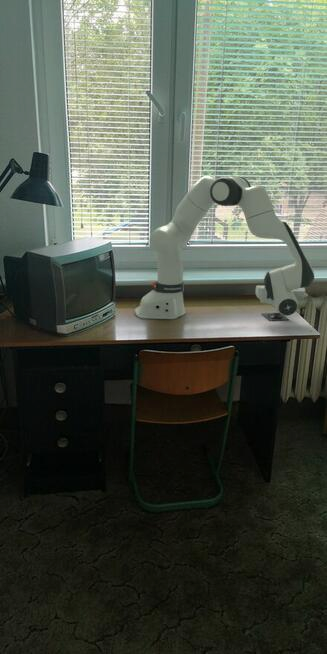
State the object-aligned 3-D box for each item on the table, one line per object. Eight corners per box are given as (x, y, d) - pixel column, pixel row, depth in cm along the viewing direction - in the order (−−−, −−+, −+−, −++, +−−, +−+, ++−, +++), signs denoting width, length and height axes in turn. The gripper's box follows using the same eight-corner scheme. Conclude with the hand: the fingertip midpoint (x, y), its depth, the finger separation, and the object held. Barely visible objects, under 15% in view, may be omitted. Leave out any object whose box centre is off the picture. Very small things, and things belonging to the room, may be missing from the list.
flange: (269, 321, 209) (269, 319, 209) (261, 314, 218) (261, 312, 217) (288, 320, 211) (289, 318, 211) (280, 313, 219) (280, 312, 219)
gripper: (309, 289, 195) (303, 280, 208) (257, 287, 197) (255, 279, 210) (307, 304, 198) (302, 294, 210) (256, 302, 199) (254, 293, 212)
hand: (278, 287), depth 210 cm, fingers closed on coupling, 5 cm apart
